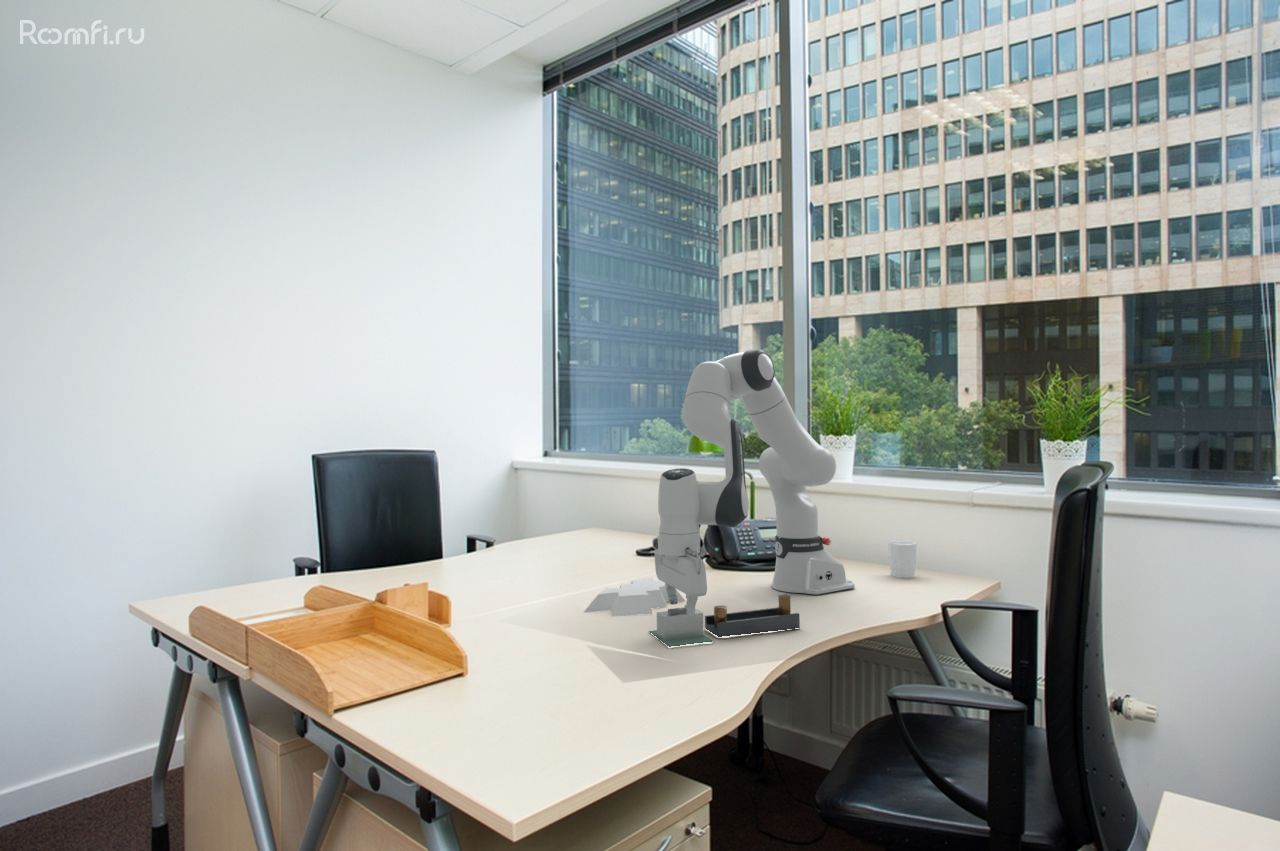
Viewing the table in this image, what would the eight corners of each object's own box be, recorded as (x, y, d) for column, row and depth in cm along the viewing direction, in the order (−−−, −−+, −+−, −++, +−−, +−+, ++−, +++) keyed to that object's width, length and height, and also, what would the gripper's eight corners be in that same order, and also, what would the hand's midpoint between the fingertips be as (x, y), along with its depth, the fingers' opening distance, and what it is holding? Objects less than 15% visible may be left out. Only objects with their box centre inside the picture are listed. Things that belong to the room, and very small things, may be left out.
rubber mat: (690, 629, 174) (690, 626, 174) (713, 644, 163) (712, 640, 163) (648, 634, 171) (648, 631, 171) (669, 649, 160) (669, 646, 160)
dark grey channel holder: (783, 621, 180) (783, 591, 179) (799, 629, 173) (799, 598, 173) (705, 631, 173) (704, 600, 173) (718, 639, 166) (718, 607, 166)
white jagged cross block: (631, 630, 177) (630, 606, 177) (565, 618, 188) (565, 596, 188) (708, 599, 205) (708, 578, 205) (647, 590, 217) (647, 571, 217)
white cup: (882, 575, 229) (882, 541, 228) (903, 572, 232) (902, 539, 232) (902, 580, 221) (901, 545, 221) (922, 577, 225) (922, 543, 225)
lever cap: (695, 630, 171) (694, 604, 171) (703, 635, 166) (702, 609, 166) (657, 635, 168) (656, 608, 168) (664, 640, 163) (663, 613, 163)
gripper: (713, 551, 158) (715, 618, 158) (675, 536, 177) (676, 596, 177) (685, 554, 156) (687, 622, 156) (649, 539, 175) (650, 599, 175)
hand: (681, 608), depth 167 cm, fingers open, 8 cm apart
